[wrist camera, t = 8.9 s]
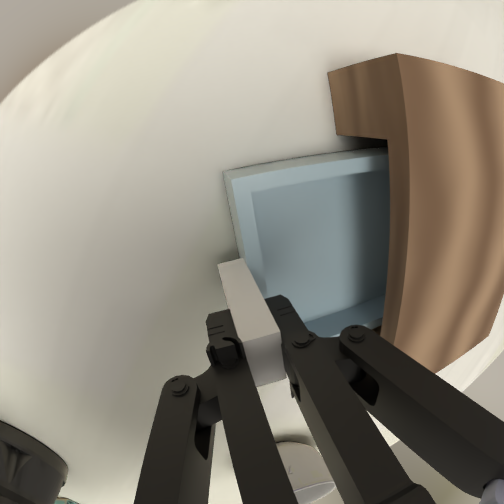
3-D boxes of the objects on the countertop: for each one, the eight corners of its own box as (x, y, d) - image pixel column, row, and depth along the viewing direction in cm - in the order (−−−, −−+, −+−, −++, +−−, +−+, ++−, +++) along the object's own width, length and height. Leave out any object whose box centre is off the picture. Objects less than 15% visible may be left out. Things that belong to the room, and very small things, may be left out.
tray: (256, 337, 21) (267, 365, 18) (222, 171, 16) (230, 179, 13) (451, 267, 23) (471, 280, 21) (460, 143, 18) (486, 148, 16)
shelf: (342, 353, 24) (378, 404, 18) (327, 72, 14) (396, 53, 9) (449, 303, 26) (488, 335, 20) (462, 87, 16) (522, 91, 10)
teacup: (270, 425, 26) (292, 488, 19) (332, 434, 31) (357, 481, 23) (204, 474, 29) (214, 524, 22) (266, 479, 33) (281, 521, 26)
